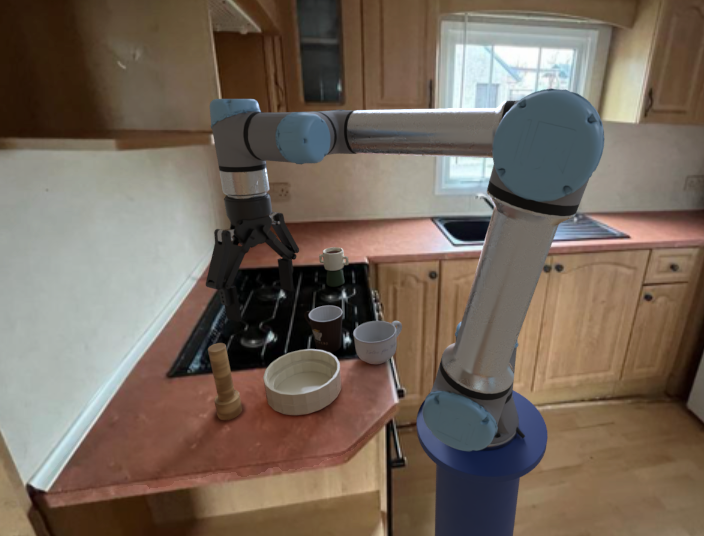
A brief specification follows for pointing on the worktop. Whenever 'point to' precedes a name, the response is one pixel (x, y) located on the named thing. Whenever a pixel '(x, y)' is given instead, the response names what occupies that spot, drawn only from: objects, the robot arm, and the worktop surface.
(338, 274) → the character mug
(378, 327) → the teacup
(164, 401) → the worktop surface
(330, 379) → the mixing bowl
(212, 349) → the wooden masher
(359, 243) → the worktop surface
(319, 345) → the coffee mug
